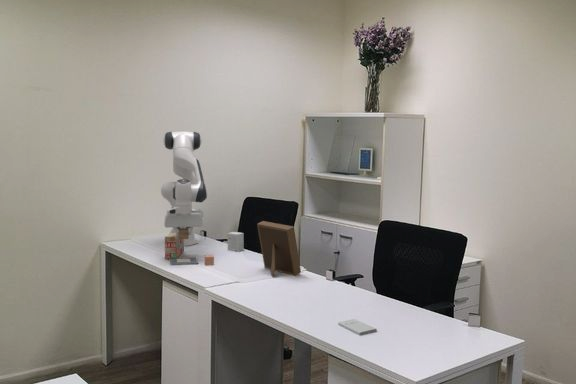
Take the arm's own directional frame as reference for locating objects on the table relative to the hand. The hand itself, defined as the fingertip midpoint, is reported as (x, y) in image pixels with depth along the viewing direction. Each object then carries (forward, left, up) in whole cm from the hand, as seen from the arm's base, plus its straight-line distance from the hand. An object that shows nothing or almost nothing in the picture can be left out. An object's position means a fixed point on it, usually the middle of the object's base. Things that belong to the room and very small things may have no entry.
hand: (183, 235), depth 299 cm
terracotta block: (+8, +13, -15) cm, 21 cm away
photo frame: (+31, +44, -15) cm, 56 cm away
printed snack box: (-16, -4, -14) cm, 22 cm away
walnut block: (0, 0, -2) cm, 2 cm away
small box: (-24, +32, -15) cm, 43 cm away
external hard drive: (+114, +57, -15) cm, 128 cm away
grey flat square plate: (0, 0, -15) cm, 15 cm away
